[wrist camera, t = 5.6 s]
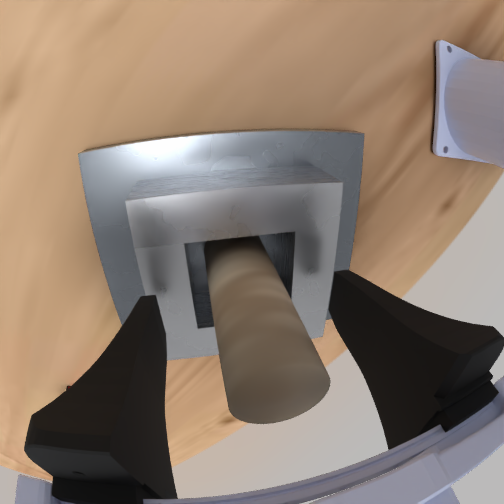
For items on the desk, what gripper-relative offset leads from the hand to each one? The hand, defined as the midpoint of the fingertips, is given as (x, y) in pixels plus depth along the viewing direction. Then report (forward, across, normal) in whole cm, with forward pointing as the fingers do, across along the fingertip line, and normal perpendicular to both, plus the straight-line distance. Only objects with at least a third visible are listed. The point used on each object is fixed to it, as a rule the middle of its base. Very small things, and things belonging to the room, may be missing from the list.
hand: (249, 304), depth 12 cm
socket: (+5, 0, 0) cm, 5 cm away
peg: (+4, 0, 0) cm, 4 cm away
